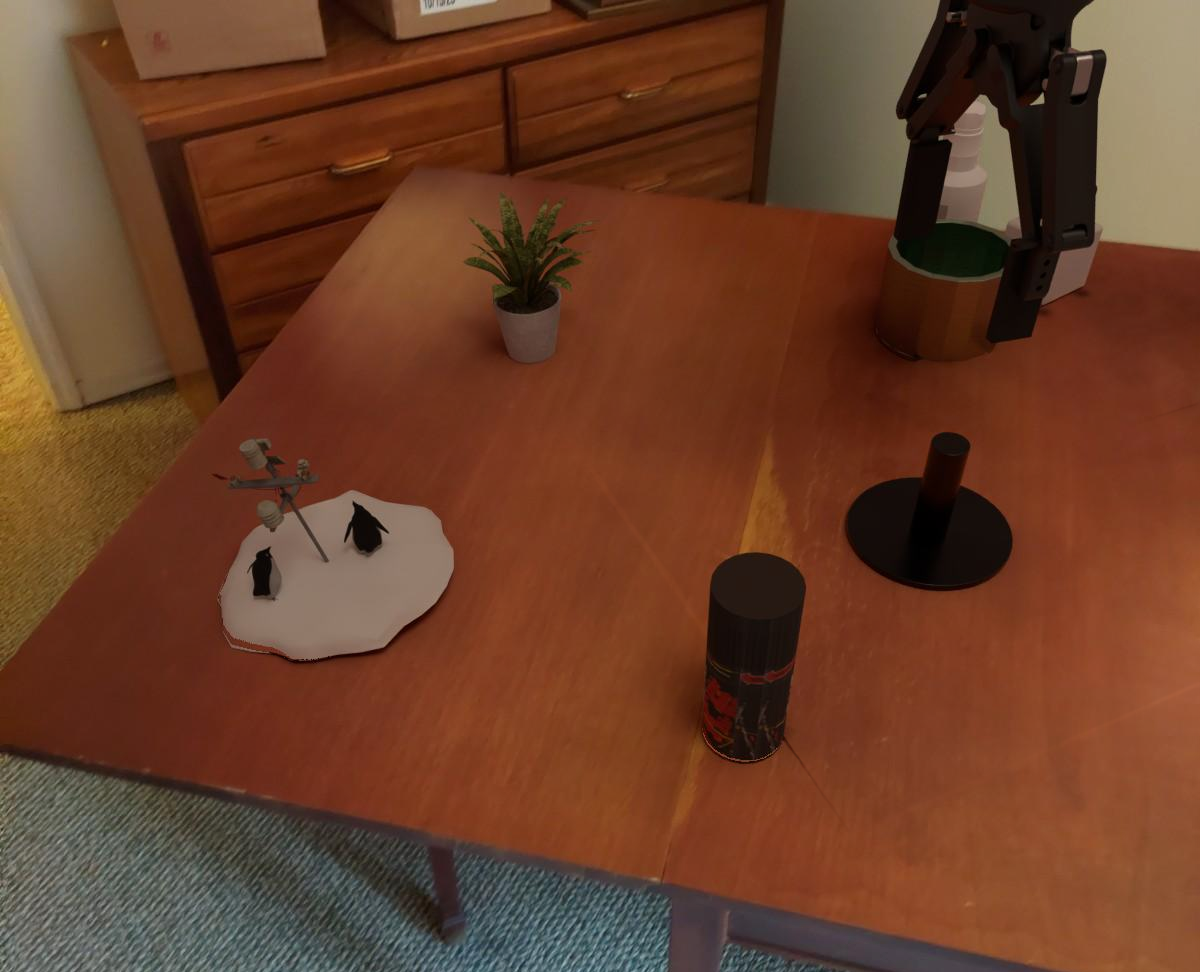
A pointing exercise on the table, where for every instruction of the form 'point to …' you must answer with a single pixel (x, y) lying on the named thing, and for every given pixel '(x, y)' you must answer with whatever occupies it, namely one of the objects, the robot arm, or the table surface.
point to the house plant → (528, 280)
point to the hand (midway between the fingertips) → (957, 283)
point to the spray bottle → (964, 168)
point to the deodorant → (751, 654)
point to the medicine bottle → (1064, 263)
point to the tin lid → (931, 525)
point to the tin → (941, 292)
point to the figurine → (330, 568)
